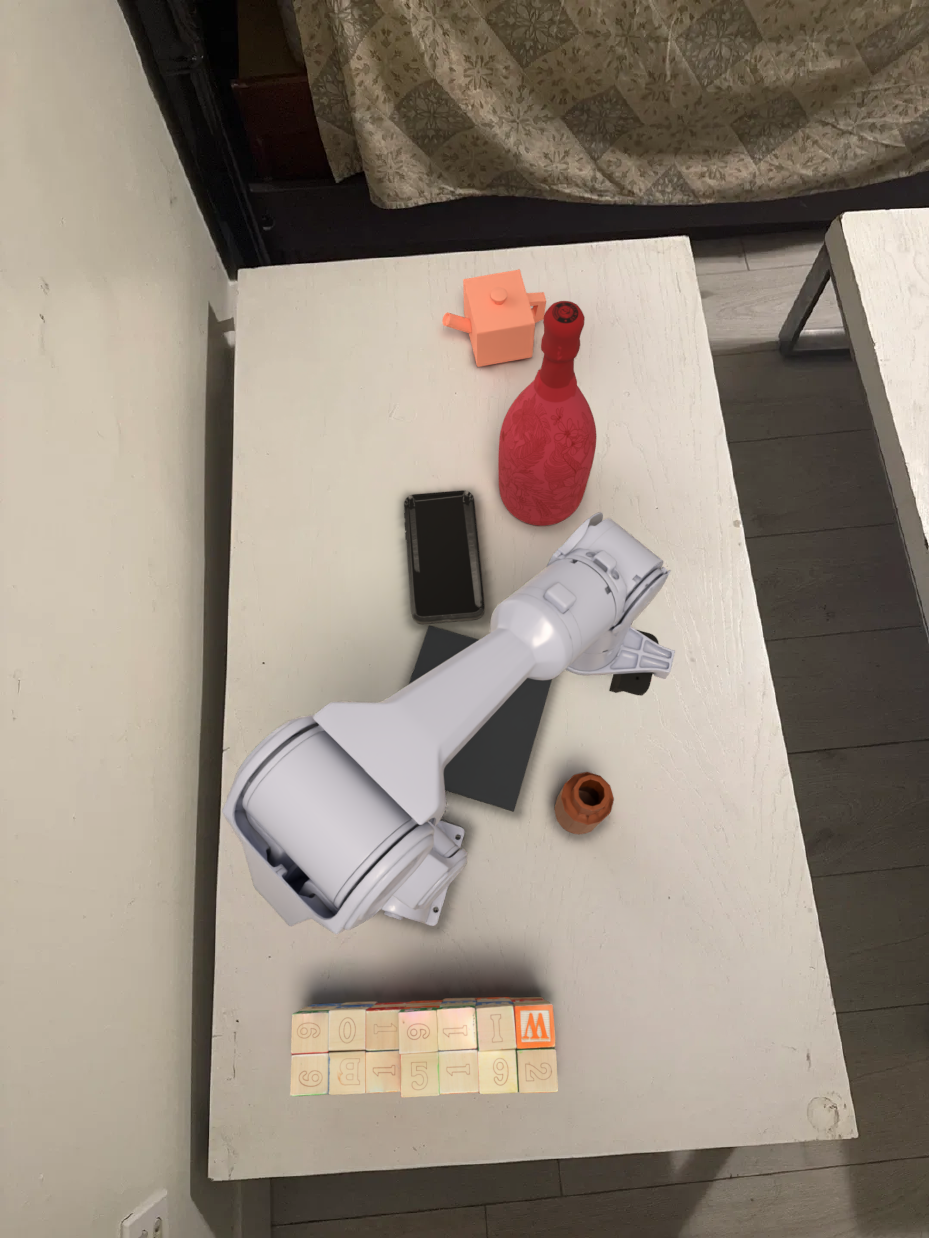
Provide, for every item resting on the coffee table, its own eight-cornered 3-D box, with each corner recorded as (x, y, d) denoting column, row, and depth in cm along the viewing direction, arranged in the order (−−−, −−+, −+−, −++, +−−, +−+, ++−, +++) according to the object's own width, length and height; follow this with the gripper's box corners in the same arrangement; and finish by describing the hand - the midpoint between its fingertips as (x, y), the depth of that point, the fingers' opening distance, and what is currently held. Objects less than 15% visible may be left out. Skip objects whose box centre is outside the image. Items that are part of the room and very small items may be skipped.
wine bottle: (585, 531, 96) (629, 363, 68) (496, 530, 97) (503, 362, 68) (583, 454, 100) (624, 263, 72) (497, 453, 100) (504, 262, 72)
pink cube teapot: (438, 324, 106) (434, 276, 99) (534, 307, 107) (538, 258, 99) (450, 377, 104) (448, 331, 96) (548, 359, 104) (554, 313, 97)
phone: (473, 489, 97) (485, 615, 92) (473, 494, 98) (485, 618, 93) (402, 495, 97) (410, 621, 92) (403, 500, 98) (411, 625, 93)
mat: (513, 811, 86) (514, 811, 85) (379, 770, 88) (379, 769, 87) (556, 663, 91) (556, 662, 91) (429, 626, 93) (429, 625, 92)
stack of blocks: (309, 1079, 78) (279, 1103, 66) (311, 1002, 80) (282, 1013, 69) (548, 1070, 78) (560, 1093, 66) (543, 994, 80) (554, 1003, 69)
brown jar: (594, 840, 85) (610, 826, 75) (549, 826, 85) (558, 810, 75) (606, 794, 86) (623, 775, 76) (561, 781, 87) (572, 759, 77)
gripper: (695, 597, 68) (661, 651, 81) (515, 549, 70) (510, 610, 82) (676, 681, 66) (644, 723, 78) (491, 629, 67) (489, 679, 80)
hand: (574, 670), depth 80 cm, fingers open, 7 cm apart
